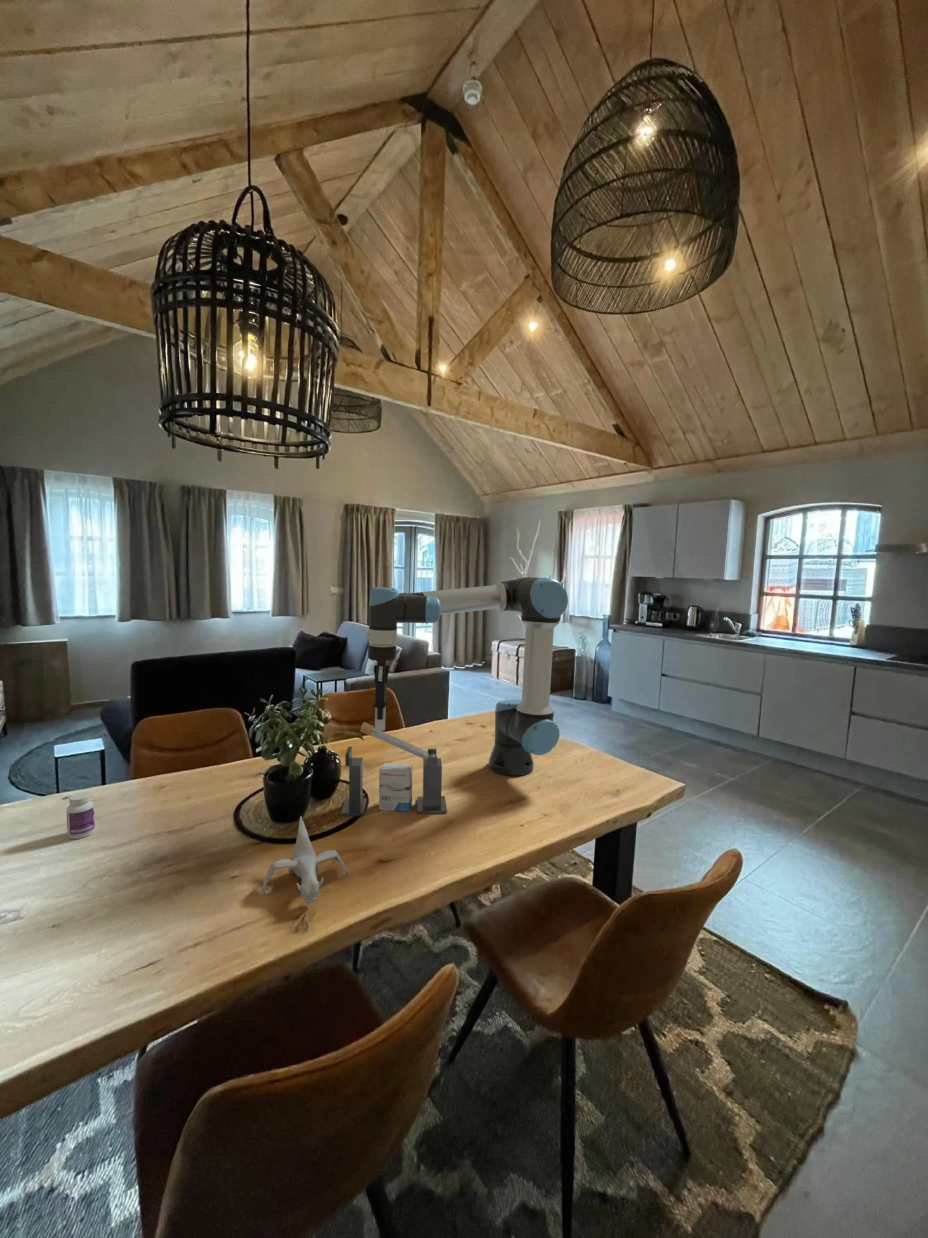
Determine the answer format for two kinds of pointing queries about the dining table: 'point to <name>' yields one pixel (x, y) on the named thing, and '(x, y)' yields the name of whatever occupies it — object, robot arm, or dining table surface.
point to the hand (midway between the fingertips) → (379, 729)
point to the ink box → (395, 787)
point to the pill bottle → (80, 816)
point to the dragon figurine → (304, 865)
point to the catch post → (354, 787)
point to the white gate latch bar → (395, 741)
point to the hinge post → (432, 787)
